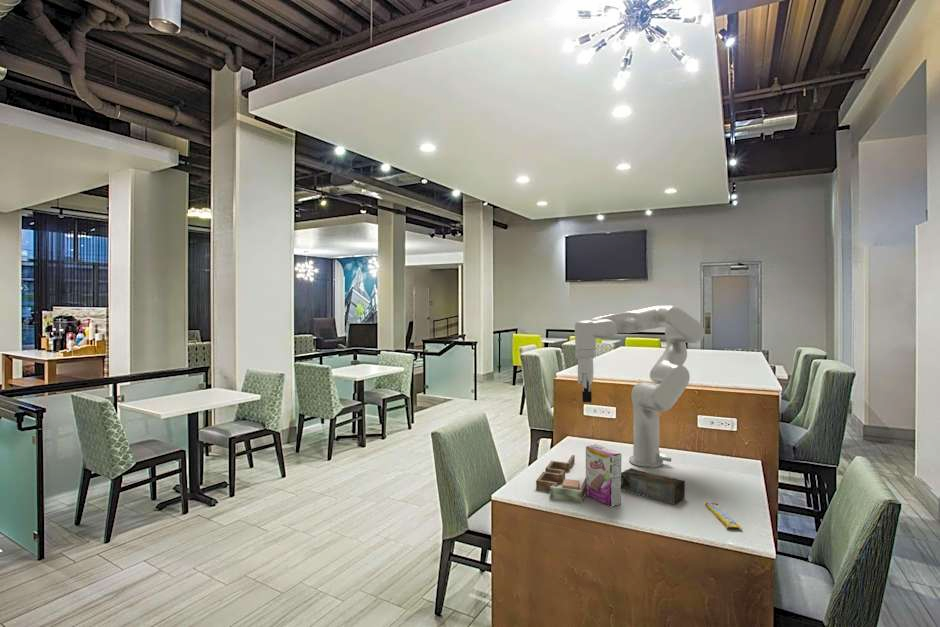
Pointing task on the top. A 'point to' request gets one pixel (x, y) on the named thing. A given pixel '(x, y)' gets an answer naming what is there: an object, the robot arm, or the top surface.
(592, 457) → the candy bar box
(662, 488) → the dark brown long block
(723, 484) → the top surface
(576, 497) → the trap lane
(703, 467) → the top surface
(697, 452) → the top surface
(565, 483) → the block
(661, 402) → the robot arm
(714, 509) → the candy bar
